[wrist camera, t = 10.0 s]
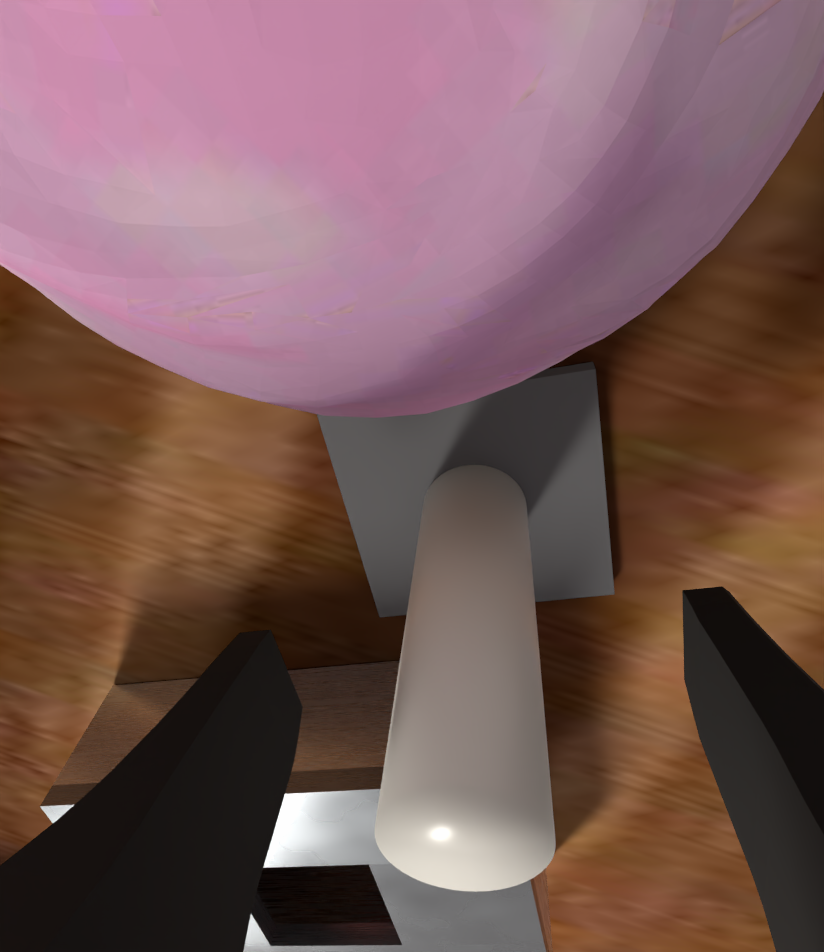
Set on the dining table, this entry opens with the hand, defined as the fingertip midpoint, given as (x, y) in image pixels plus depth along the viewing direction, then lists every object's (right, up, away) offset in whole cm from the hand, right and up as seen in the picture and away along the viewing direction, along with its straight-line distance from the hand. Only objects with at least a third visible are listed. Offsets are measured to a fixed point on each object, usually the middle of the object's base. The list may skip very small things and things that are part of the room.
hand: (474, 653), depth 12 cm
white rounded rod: (0, +2, +4) cm, 5 cm away
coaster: (0, +3, +4) cm, 5 cm away
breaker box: (-3, -7, +10) cm, 13 cm away
